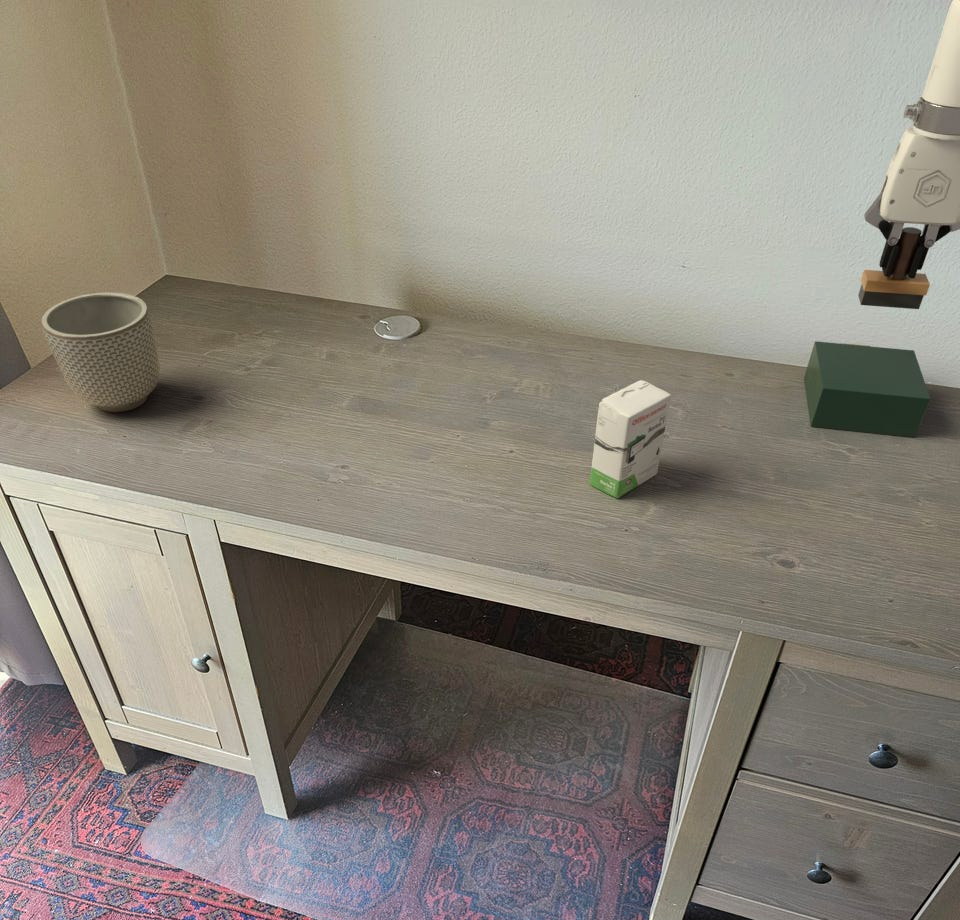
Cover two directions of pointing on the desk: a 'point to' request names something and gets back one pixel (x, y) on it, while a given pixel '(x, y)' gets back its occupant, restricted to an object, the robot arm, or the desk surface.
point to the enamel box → (865, 389)
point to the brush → (896, 279)
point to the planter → (105, 348)
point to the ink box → (629, 438)
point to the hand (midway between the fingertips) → (898, 272)
